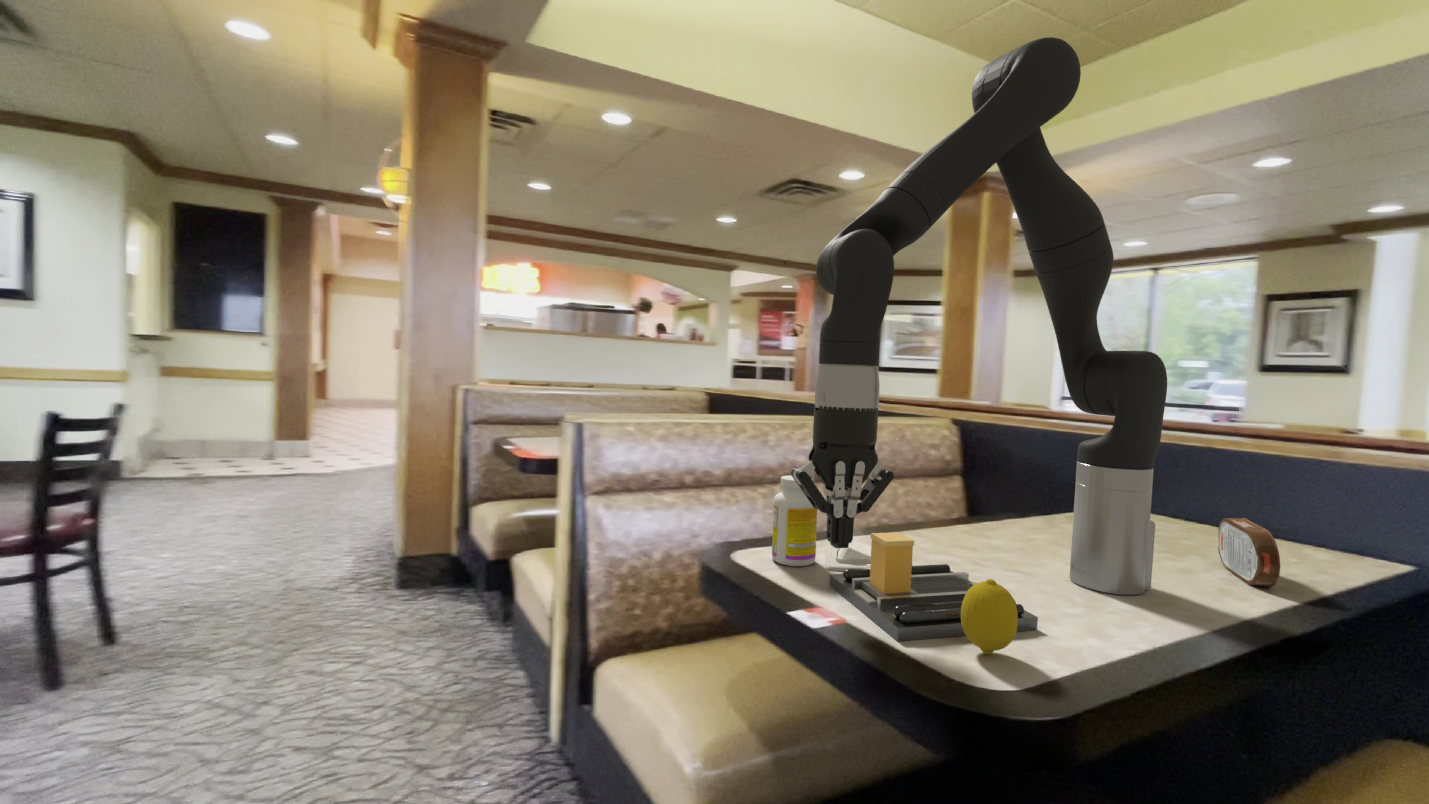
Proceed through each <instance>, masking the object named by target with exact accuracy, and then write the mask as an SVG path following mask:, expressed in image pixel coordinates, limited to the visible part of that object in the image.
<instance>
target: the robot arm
mask: <svg viewBox="0 0 1429 804" xmlns="http://www.w3.org/2000/svg"><path fill="white" fill-rule="evenodd" d="M1081 71H1082V70H1081V63H1080V60H1079V56H1078V53H1076V51H1075V50H1074V48H1073V47H1072V45H1070V43H1068V42H1067V41H1065V40H1063V39H1062V38H1058V37H1047V36H1046V37H1042V38H1038V39H1034V40H1030V41H1028V42H1027V43H1024V44H1022V45H1021V46H1019V47H1016V48H1015V49H1013V50H1011V51H1009V52H1007V53H1005V54H1003V55H1001V56H999V57H997V58H995V59H994V60H992V61H990V62H989V63H987V64H986V65H984V66H983V67H982V68H981V69H979V71H978V73H977V74H976V77H975V78H974V80H973V84H972V89H971V101H972V110H973V114H972V115H971V116H970V117H969V118H968V119H967V120H965V121H964V122H963V123H962V124H960V125H959V126H958V127H956V128H955V129H954V130H953V131H952V132H950V133H949V134H948V135H946V136H945V137H943V138H942V139H940V141H938V142H937V143H936V144H934V145H932V146H931V147H930V148H928V149H927V150H926V151H925V152H924V153H923V154H921V155H920V156H918V158H916V159H915V160H914V161H913V162H911V163H910V164H909V165H908V167H906V168H905V169H904V170H903V172H901V174H899V175H898V176H897V177H896V179H894V180H893V181H892V182H891V184H889V185H888V186H887V188H886V189H885V190H884V191H883V192H882V193H881V194H880V195H879V196H878V197H877V199H876V200H875V201H874V202H873V203H872V204H871V205H870V206H869V207H868V209H866V210H865V211H864V212H863V213H862V214H860V215H859V216H858V217H856V218H855V219H854V220H853V221H852V222H850V223H849V224H848V225H847V226H845V228H843V229H842V230H841V231H840V232H839V233H837V234H836V235H835V236H834V237H833V239H831V240H830V241H829V242H828V244H826V245H825V246H824V248H823V249H822V250H821V252H820V254H819V256H818V258H817V261H816V265H815V267H816V268H815V272H816V273H815V274H816V278H817V281H818V283H819V285H820V287H821V288H822V289H823V290H824V291H825V292H827V293H828V294H829V295H833V297H832V303H831V309H830V313H829V314H828V316H827V317H826V318H825V319H824V320H823V322H822V324H821V327H820V333H819V351H818V367H817V374H816V378H815V387H814V406H813V408H814V409H813V422H812V423H813V428H812V443H813V444H812V448H811V450H810V452H809V454H808V461H806V462H805V463H804V464H803V465H801V466H800V467H799V468H797V467H794V468H793V469H791V471H790V475H791V476H792V477H793V478H794V480H795V481H796V483H797V484H798V486H799V487H800V489H801V490H802V491H803V493H804V494H805V496H806V497H807V499H808V500H809V502H810V503H811V504H812V506H813V507H814V508H815V509H817V511H819V512H821V513H823V514H826V517H827V518H826V535H825V536H826V539H827V541H828V542H829V543H830V546H831V547H835V548H848V546H849V543H851V542H852V540H854V527H855V526H854V523H855V517H856V516H857V515H858V514H862V513H867V512H869V511H870V510H871V508H872V507H873V506H874V504H875V503H876V502H877V500H879V498H880V496H881V495H882V493H884V492H885V490H886V488H887V487H888V486H889V485H890V483H891V482H892V481H893V479H894V477H895V475H894V472H893V471H892V470H887V469H886V468H884V467H883V465H881V464H880V463H879V457H878V454H877V452H876V443H877V441H878V424H879V423H878V422H879V406H880V405H879V404H880V400H881V399H880V389H881V388H880V384H881V383H880V376H879V375H880V373H879V366H880V365H879V363H880V348H881V347H880V346H881V345H880V344H881V328H882V326H883V325H882V324H883V321H884V318H885V315H886V311H887V307H888V303H889V300H890V296H891V291H892V287H893V282H894V275H895V259H894V256H895V255H896V254H897V253H899V252H900V251H901V250H903V249H905V248H906V247H909V246H910V245H912V244H914V243H915V242H917V241H918V240H919V239H920V238H921V237H923V235H925V234H926V232H928V231H929V230H930V229H931V227H932V226H934V224H936V222H937V221H938V220H940V218H941V217H942V216H943V215H944V214H945V213H946V212H947V211H948V210H949V209H950V207H952V206H953V205H954V204H955V203H956V201H957V200H958V199H959V198H960V197H962V196H963V194H964V193H965V192H967V190H968V189H969V188H970V187H972V186H973V185H974V184H975V183H976V181H978V180H979V179H980V178H981V177H982V176H983V175H984V174H985V173H986V172H987V171H988V170H989V169H990V168H992V167H993V166H994V165H995V164H996V165H997V166H996V167H998V168H997V169H998V170H999V171H1000V174H1001V176H1002V178H1003V181H1004V184H1005V187H1006V189H1007V191H1008V194H1009V198H1010V201H1011V203H1012V206H1013V208H1014V211H1015V213H1016V216H1017V219H1018V222H1019V225H1020V228H1021V231H1022V233H1023V237H1024V240H1025V245H1026V249H1027V251H1028V254H1029V257H1030V260H1031V263H1032V265H1033V269H1034V272H1035V274H1036V277H1037V280H1038V282H1039V285H1040V287H1041V290H1042V293H1043V295H1044V296H1043V297H1044V299H1045V303H1046V305H1047V309H1048V312H1049V317H1050V319H1051V322H1052V326H1053V329H1054V333H1055V337H1056V342H1057V346H1058V351H1059V356H1060V361H1061V366H1062V371H1063V374H1064V379H1065V380H1064V381H1065V383H1066V387H1067V390H1068V393H1069V396H1070V398H1071V400H1072V402H1073V404H1074V406H1076V408H1078V409H1079V410H1080V411H1082V412H1083V413H1086V414H1091V415H1098V416H1106V417H1107V416H1108V417H1114V420H1113V424H1112V427H1111V429H1110V430H1109V431H1107V432H1106V433H1105V434H1104V435H1101V436H1099V437H1095V438H1090V439H1087V440H1083V441H1082V442H1080V443H1079V445H1078V446H1077V453H1076V455H1077V456H1076V469H1075V486H1074V487H1075V489H1074V500H1073V501H1074V504H1073V518H1072V533H1071V535H1072V536H1071V550H1070V562H1069V564H1070V565H1069V580H1071V581H1072V582H1074V583H1075V584H1077V585H1078V586H1082V587H1085V588H1087V589H1091V590H1095V591H1099V592H1103V593H1108V594H1115V595H1125V596H1126V595H1132V596H1134V595H1140V594H1141V595H1142V594H1143V593H1145V592H1146V590H1151V589H1152V577H1153V575H1152V574H1153V562H1154V547H1155V536H1156V523H1155V521H1153V520H1151V511H1152V500H1153V482H1154V481H1153V480H1154V468H1155V459H1156V456H1157V452H1158V450H1159V447H1160V444H1161V439H1162V432H1163V430H1162V429H1163V421H1164V414H1165V408H1166V407H1165V406H1166V402H1167V392H1168V375H1167V368H1166V366H1165V362H1164V361H1163V360H1162V358H1161V357H1160V356H1159V355H1158V354H1156V353H1155V352H1152V351H1148V350H1147V351H1146V350H1107V349H1105V347H1104V345H1103V342H1102V340H1101V336H1100V333H1099V328H1098V327H1099V326H1098V310H1099V307H1100V304H1101V301H1102V299H1103V296H1104V294H1105V291H1106V289H1107V286H1108V284H1109V279H1110V277H1111V275H1112V272H1113V271H1112V270H1113V265H1114V258H1115V257H1114V252H1113V247H1112V243H1111V240H1110V237H1109V234H1108V231H1107V227H1106V224H1105V221H1104V217H1103V215H1102V212H1101V210H1100V208H1099V207H1098V204H1096V202H1095V201H1094V200H1093V199H1092V198H1091V196H1090V195H1089V194H1088V193H1087V191H1085V190H1084V189H1083V187H1082V186H1080V185H1079V184H1078V183H1077V182H1076V181H1075V180H1074V179H1073V178H1072V177H1071V176H1070V175H1068V173H1066V172H1065V171H1064V170H1063V169H1062V167H1061V166H1060V165H1059V164H1058V163H1057V162H1056V160H1055V159H1054V157H1053V156H1052V154H1051V152H1050V150H1049V148H1048V146H1047V143H1046V141H1045V137H1044V134H1043V132H1042V130H1041V127H1042V126H1044V125H1045V124H1047V123H1048V122H1049V121H1050V120H1052V119H1053V118H1054V117H1056V116H1058V115H1059V114H1060V113H1062V111H1064V110H1065V109H1066V108H1067V107H1068V106H1069V105H1070V103H1071V102H1072V100H1073V99H1074V97H1075V96H1076V94H1077V91H1078V89H1079V85H1080V82H1081V74H1082V72H1081ZM816 476H817V477H818V478H819V481H821V483H822V485H823V487H822V488H823V494H824V495H823V494H822V493H821V491H820V489H819V488H818V487H817V485H816V484H815V482H814V481H815V480H816ZM867 478H868V480H867ZM866 480H867V481H866ZM865 481H866V483H865V484H864V482H865ZM863 484H864V485H863Z"/></svg>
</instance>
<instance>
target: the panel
mask: <svg viewBox="0 0 1429 804" xmlns="http://www.w3.org/2000/svg"><path fill="white" fill-rule="evenodd" d="M969 575H970V574H969V573H968V572H966V571H960V572H955V571H952V570H951V567H950V565H949V564H948V563H944V564H941V563H940V564H928V565H927V564H925V565H923V564H922V565H912V572H911V589H912V590H914V591H915V592H917V593H918V594H912V595H897V596H881V597H877V599H876V598H874V597H873V596H872V595H870V594H869V593H868V592H866V591H865V590H864V589H862V582H870V568H863V569H846V570H844V572H842V573H830V574H829V578H828V579H829V580H828V581H829V584H828V585H829V586H830V588H832V589H834V591H836V592H837V593H838V594H839V595H841V596H842V597H843V598H844V599H846V600H847V601H848V602H849V603H850V604H851V605H852V606H854V607H856V609H858V610H859V611H860V612H861V613H863V615H865V616H866V618H868V619H870V620H871V621H872V620H873V621H874V622H873V621H872V622H873V623H875V625H877V626H878V627H879V626H880V627H879V628H880V629H882V630H883V631H884V632H886V634H887V635H890V636H891V638H893V639H894V640H895V641H896V642H904V641H905V642H907V641H917V640H928V639H929V640H930V639H942V638H955V637H967V636H966V635H965V633H964V631H963V628H962V624H961V606H962V602H963V599H964V596H965V594H966V592H967V591H968V590H969V589H970V588H971V587H972V586H973V585H975V584H977V582H973V581H971V580H969ZM1014 601H1015V604H1016V608H1017V613H1018V625H1017V631H1016V633H1017V632H1025V631H1024V630H1029V631H1034V630H1033V629H1037V630H1038V623H1039V622H1038V621H1039V618H1038V616H1036V615H1035V614H1032V613H1031V612H1029V611H1027V610H1026V609H1025V608H1024V606H1023V605H1022V604H1020V603H1016V600H1015V599H1014Z"/></svg>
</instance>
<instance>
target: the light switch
mask: <svg viewBox="0 0 1429 804" xmlns="http://www.w3.org/2000/svg"><path fill="white" fill-rule="evenodd" d="M824 561H825V562H824V570H825V571H833V572H842V573H843V572H844V570H846V569H863V568H870V565H871V545H868V544H864V543H862V542H859V541H857V540H855V539H853V540H852V542H851V543H849V546H848V548H835V547H833V546H830V547H828V548H827V549H825V559H824Z"/></svg>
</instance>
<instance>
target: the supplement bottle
mask: <svg viewBox="0 0 1429 804" xmlns="http://www.w3.org/2000/svg"><path fill="white" fill-rule="evenodd" d="M779 484H780V488H781V491H780V492H779V493H776V495H774V498H773V503H772V504H773V510H772V511H773V513H772V538H771V539H772V545H771V557H772V559H773V561H774V562H776V563H777V564H780V565H783V566H789V567H806V566H809V565H812V564H814V562H815V561H816V555H817V553H816V551H817V525H818V524H817V523H818V522H817V521H818V509H815V508H814V507H813V506H812V504H811V503H810V502H809V500H808V499H807V497H806V496H805V494H804V493H803V491H802V490H801V489H800V487H799V486H798V484H797V483H796V481H795V480H794V478H793V477H792V476H791V474H790V475H782V476H780V483H779Z"/></svg>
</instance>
